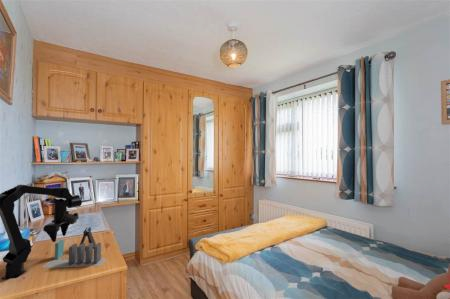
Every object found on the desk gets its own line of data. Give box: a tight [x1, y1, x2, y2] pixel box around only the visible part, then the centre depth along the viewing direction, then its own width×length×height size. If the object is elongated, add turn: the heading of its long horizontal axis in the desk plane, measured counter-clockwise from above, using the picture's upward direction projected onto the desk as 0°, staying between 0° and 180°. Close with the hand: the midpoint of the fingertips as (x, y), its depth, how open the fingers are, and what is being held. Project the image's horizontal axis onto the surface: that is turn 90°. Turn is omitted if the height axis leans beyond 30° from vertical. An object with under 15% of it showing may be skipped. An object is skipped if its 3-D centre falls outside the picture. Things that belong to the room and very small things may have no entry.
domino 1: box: [54, 239, 65, 260], centre depth 126 cm, size 5×2×9 cm, turn 7°
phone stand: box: [79, 226, 97, 250], centre depth 139 cm, size 9×6×12 cm, turn 110°
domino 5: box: [93, 242, 102, 264], centre depth 122 cm, size 5×2×9 cm, turn 7°
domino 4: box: [85, 243, 94, 264], centre depth 121 cm, size 5×2×9 cm, turn 7°
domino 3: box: [77, 242, 86, 265], centre depth 121 cm, size 5×2×9 cm, turn 7°
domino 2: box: [68, 243, 78, 265], centre depth 120 cm, size 5×2×9 cm, turn 7°
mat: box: [41, 257, 108, 269], centre depth 120 cm, size 8×28×1 cm, turn 97°
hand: (59, 238), depth 126 cm, fingers open, 9 cm apart
